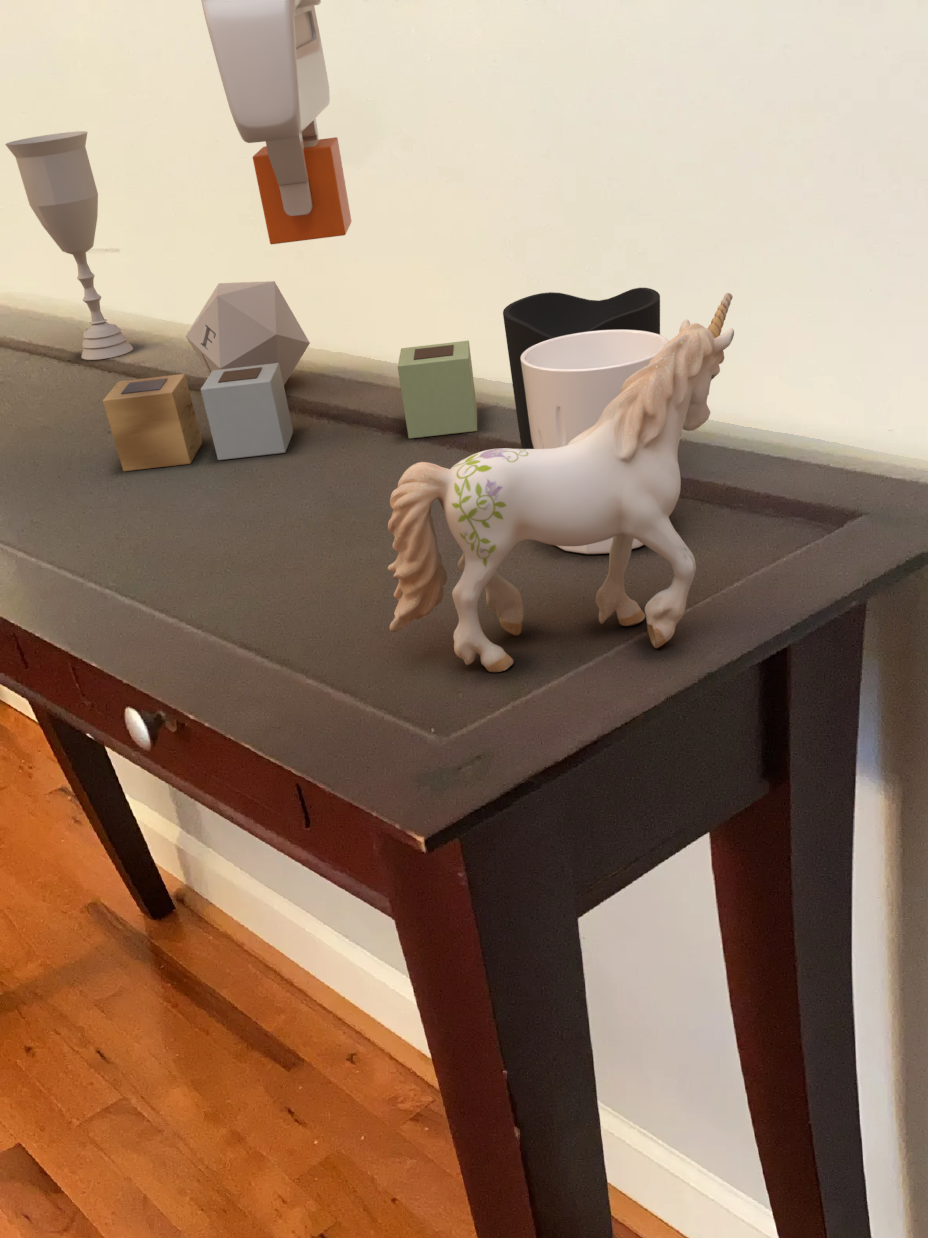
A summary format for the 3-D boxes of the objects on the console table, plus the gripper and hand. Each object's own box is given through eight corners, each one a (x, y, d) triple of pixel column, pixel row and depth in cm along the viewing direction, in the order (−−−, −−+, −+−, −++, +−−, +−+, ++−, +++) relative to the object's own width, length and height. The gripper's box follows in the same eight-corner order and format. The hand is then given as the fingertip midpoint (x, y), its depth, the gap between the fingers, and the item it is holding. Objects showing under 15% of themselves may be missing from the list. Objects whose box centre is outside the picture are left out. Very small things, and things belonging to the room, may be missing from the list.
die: (212, 391, 111) (148, 309, 102) (286, 318, 110) (228, 230, 101) (266, 442, 107) (205, 362, 98) (342, 367, 107) (288, 281, 98)
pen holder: (575, 508, 77) (562, 331, 71) (492, 474, 83) (473, 310, 77) (695, 467, 81) (692, 295, 74) (607, 438, 87) (597, 278, 81)
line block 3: (408, 438, 92) (397, 364, 89) (411, 418, 96) (400, 347, 92) (477, 431, 91) (468, 356, 88) (477, 411, 95) (468, 339, 92)
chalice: (125, 339, 128) (69, 130, 117) (156, 347, 124) (100, 131, 113) (58, 357, 125) (-7, 144, 114) (87, 366, 120) (22, 145, 109)
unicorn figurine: (807, 610, 62) (818, 317, 54) (442, 720, 57) (393, 415, 49) (730, 564, 68) (730, 291, 60) (390, 661, 63) (338, 377, 55)
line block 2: (217, 460, 92) (199, 387, 89) (228, 439, 96) (211, 369, 93) (285, 453, 92) (270, 379, 89) (293, 432, 96) (278, 361, 93)
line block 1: (123, 471, 92) (102, 399, 89) (137, 450, 96) (118, 380, 93) (190, 463, 92) (171, 391, 89) (202, 442, 96) (184, 372, 93)
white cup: (511, 549, 73) (491, 365, 67) (583, 501, 78) (570, 326, 72) (631, 567, 69) (621, 373, 63) (698, 516, 74) (695, 332, 68)
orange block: (270, 244, 83) (251, 154, 80) (279, 231, 87) (262, 145, 84) (345, 235, 83) (330, 144, 80) (351, 222, 87) (337, 135, 84)
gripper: (231, -52, 84) (278, 188, 92) (172, -52, 67) (235, 239, 76) (326, -64, 83) (364, 177, 92) (289, -68, 67) (339, 226, 76)
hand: (305, 206), depth 84 cm, fingers closed on orange block, 5 cm apart
